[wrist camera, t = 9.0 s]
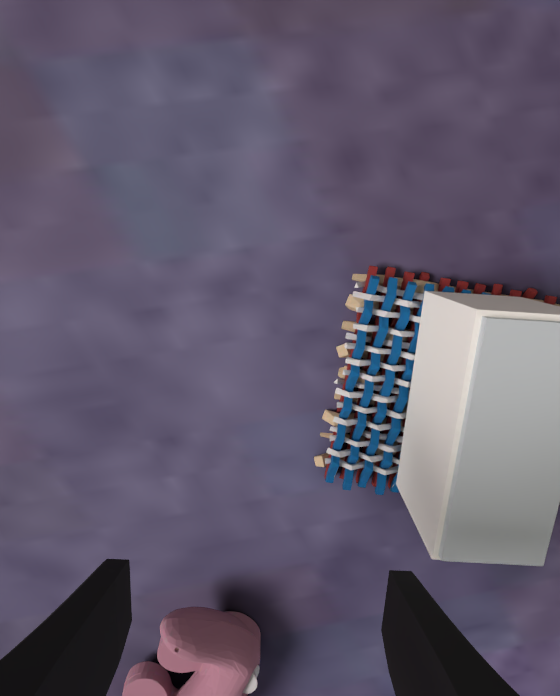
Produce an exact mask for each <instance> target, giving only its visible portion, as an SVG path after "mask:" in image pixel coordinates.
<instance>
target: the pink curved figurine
mask: <svg viewBox="0 0 560 696" xmlns="http://www.w3.org/2000/svg"><path fill="white" fill-rule="evenodd" d="M160 633H161V639H160V643H159V647H158V651H157V659H158V661H159V663H160V664H161V665H162V666H163V667H162V666H161V665H159V664H157V663H154V662H150V661H146V662H141V663H138V664H136V665H135V666H133V667H132V668H131V669H130V671H129V673H128V675H127V678H126V681H125V684H124V690H123V694H122V696H247V695H248V694H249V693H252V692H253V691H255V689H256V688H257V684H258V683H257V676H258V673H259V670H260V669H259V667H260V642H261V633H260V630H259V627H258V626H257V624H256V623H255V622H254V621H253V620H252V619H251V618H250V617H248V616H246V615H245V614H242V613H240V612H232V611H228V612H222V611H219V610H215V609H210V608H205V607H187V608H181V609H177V610H175V611H173V612H171V613H169V614H168V615H167V616H165V618H164V619H163V620H162V622H161V624H160ZM166 669H167V670H169V671H172V672H178V673H186V672H192V671H195V672H194V673H193V675H192V676H191V677H190V679H189V680H188V681H187V682H186V683H185V684H184V685H183V686H182V687H181V688H180V689H179V690H178V689H177V688H175V687H174V686H173V685H172V682H171V678H170V675H169V674H168V672H167V671H166Z"/></svg>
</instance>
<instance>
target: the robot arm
mask: <svg viewBox="0 0 560 696" xmlns="http://www.w3.org/2000/svg"><path fill="white" fill-rule="evenodd" d="M131 622H132V613H131V590H130V566H129V560H121V559H106V560H105V561H104V562H103V563H102V564H101V565H100V566H99V567H98V568H97V569H96V570H95V571H94V572H93V573H92V574H91V575H90V576H89V577H88V578H87V579H86V580H85V581H84V582H83V583H82V584H81V585H80V586H79V587H78V588H77V589H76V590H75V591H74V592H73V593H72V594H71V595H70V596H69V597H68V598H67V599H66V600H65V601H64V602H63V603H62V604H61V605H60V606H59V607H58V608H57V609H56V610H55V611H54V612H53V613H52V614H51V615H50V616H49V617H48V618H47V619H46V620H45V621H44V622H43V623H41V624H40V625H39V626H38V627H37V628H36V629H35V630H34V631H33V632H32V633H30V634H29V635H28V636H27V637H26V638H25V639H24V640H23V641H21V642H20V643H19V644H18V645H17V646H16V647H15V648H14V649H13V650H11V651H10V652H9V653H8V654H7V655H6V656H4V657H3V658H2V659H1V660H0V696H106V694H107V692H108V689H109V687H110V684H111V682H112V679H113V677H114V674H115V672H116V669H117V667H118V664H119V662H120V659H121V655H122V652H123V649H124V646H125V642H126V639H127V635H128V632H129V628H130V625H131ZM381 631H382V636H383V642H384V648H385V653H386V659H387V664H388V669H389V674H390V677H391V681H392V684H393V688H394V691H395V695H396V696H520V695H519V694H517V693H516V692H515V691H514V690H513V689H512V688H511V687H510V686H509V685H508V684H507V683H506V682H505V681H504V680H503V679H502V678H501V677H500V676H499V675H498V673H497V672H496V671H495V670H494V669H493V668H492V667H491V666H490V665H489V664H488V663H487V662H486V661H485V659H484V658H483V657H482V656H481V655H480V654H479V653H478V652H477V651H476V649H475V648H474V647H473V646H472V645H471V644H470V643H469V641H468V640H467V639H466V638H465V637H464V636H463V634H462V633H461V632H460V631H459V630H458V629H457V627H456V626H455V625H454V624H453V623H452V621H451V620H450V619H449V618H448V617H447V615H446V614H445V613H444V612H443V610H442V609H441V608H440V607H439V605H438V604H437V603H436V602H435V600H434V599H433V598H432V597H431V595H430V594H429V593H428V591H427V590H426V589H425V588H424V586H423V585H422V584H421V583H420V581H419V580H418V579H417V577H416V576H415V575H414V574H413V573H412V571H392V570H389V578H388V585H387V592H386V600H385V607H384V615H383V622H382V629H381Z"/></svg>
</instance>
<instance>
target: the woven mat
mask: <svg viewBox="0 0 560 696" xmlns="http://www.w3.org/2000/svg"><path fill="white" fill-rule="evenodd" d="M377 269H378V267H376V266H369V270H368V274H353V276H352V280H355V281H359V282H356V285H355V287H354V288H358V287H364V288H363V291H362V293H361V292H356V291H354V292H353V295H351V294H349V297H348V299H347V302H346V304H345V305H346V306H347V307H348V308H349V309H350V310H353V311H356V312H357V320H356V322H352V321H343V324H342V329H344V330H348V331H352V332H355V333H354V334H351V333H346V339H351V340H353V342H352V343H345V344H342V345H340V346H337V347H336V348H337V351H338V355H339V358H340V357H347V358H346V362H345V363H348V365H347V366H344V367H342V368H339V372H338V376H339V377H341V378H344V379H337V380H336V381H335V382H334V383H336V384H343V388H342V389H339V388H336V391H335V396H334V399H339V400H340V401H339V402H337V411H336V412H333V411H329V410H325V412H324V414H323V417H322V419H324V420H325V421H327V422H328V423H330V424H331V425H333V426H334V427H332V426H331V427H330V431H333V433H320V436H322V437H326V438H330V441H332V442H331V447H330V448H328V449H327V452H326V453H325V454H321V455H318V456H315V457H314V460H315V465H316V466H320V467H326V471H325V476H324V477H325V481H326V482H329V483H333V480H334V478H335V475H336V473H337V470H338V468H339V466H341V467H343V468H342V471H341V474H340V477H339V478H342V479H344V482H343V490H351V486H352V480H353V473H354V470H355V469H358V471H357V475H356V482H357V483H358V486H359V487H363V488H366V483H367V482H368V480H369V478H370V476H371V474H372V472H373V471H374V473H373V478H372V485H373V486H375V487H376V488H375V493H376V494H378V495H383V494H384V490H385V485H386V477H387V475H389V474H390V477H389V481H388V487H389V489H390V491H392V492H397V493H398V492H399V490H398V487H397V485H396V481H397V474H398V468H399V461H400V454H401V447H402V441H403V434H404V427H405V420H406V413H407V407H408V400H409V393H410V391H409V388H410V386H411V380H412V373H413V366H414V359H415V353H416V346H417V339H418V332H419V325H420V319H421V312H422V305H423V298H424V292H425V291H436V292H452V293H467V294H483V295H498V296H508V295H501V291H502V287H503V285H500V284H494V285H493V289H492V293H489V292H484V291H485V288H486V285H484V284H478V283H476V285H475V288H474V290H471V289H467V287H468V284H469V282H464V281H458V283H457V287H454V286H449V284H450V281H451V279H447V278H441V279H440V283H439V284H438V283H434V282H428V280H429V278H430V276H429V273H425V272H421V274H420V276H419V280H417V279H413V278H414V275H415V273H411V272H404V277H403V278H398V277H394V274H395V270H396V268H392V267H387V268H386V271H385V275H376V274H377ZM376 291H378V292H381V296H379V295H375V293H376ZM537 293H538V292H537V290H536V289H533V288H528V289H527V290H526V291H525V293H524V294H523V295H522V297H523V298H527V299H531V300H535V301H539V302H543V303H547V304H551V305H556V306H560V305H559V304H555V303H556V299H557V297H553V296H547V295H546V296H545V299H544V301H543V300H536V299H533V298H534V297H535V296H536V294H537ZM521 294H522V291H517V290H512V289H511V291H510V294H509V296H514V297H521ZM396 296H399V297H398V298H396ZM412 298H413V299H414V301H412ZM372 314H373V315H376V319H375V324H369V321H370V319H371V316H372ZM389 318H392V321H391V324H390V327H389V326H388V324H389ZM409 321H411V324H410V329H406V328H405V327H406V325H407V324H408V322H409ZM366 335H367V336H366ZM369 336H372V337H369ZM365 342H370V346H367V345H365ZM382 345H385V346H386V349H382V348H381V347H382ZM401 348H405V349H404V352H403V351H401ZM361 358H365V359H366V360H360V359H361ZM380 361H383V363H382V362H380ZM396 364H401V365H396ZM360 366H363V369H362V370H360ZM380 367H381V368H382V370H381V372H380V371H378V370H379V369H380ZM395 371H399V373H398V375H396V374H395ZM393 386H395V387H393ZM354 387H357V388H359V392H353V389H354ZM373 390H375V391H377V394H374V393H373ZM390 393H393V396H390ZM352 402H357V405H355V404H353V403H352ZM368 405H374V407H370V408H368ZM387 407H388V408H390V409H389V410H388V409H387ZM352 409H353V410H355V413H353V412H351V411H352ZM367 413H372V415H371V416H369V415H367ZM386 415H388V417H387V418H385V417H386ZM401 419H403V421H402V420H401ZM366 426H368V431H366V430H364V429H365V427H366ZM382 430H383V431H382ZM380 431H382V433H380ZM400 431H401V434H400V436H398V435H399V433H400ZM349 432H350V435H349V434H345V433H349ZM344 442H345V443H348V445H347V450H342V451H340V450H341V448H342V445H343V443H344ZM359 447H363V451H362V452H359ZM374 454H376V455H375V456H374ZM394 454H395V457H393V455H394ZM359 457H360V458H361V459H359ZM392 462H393V463H392Z"/></svg>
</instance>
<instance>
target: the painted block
mask: <svg viewBox="0 0 560 696" xmlns="http://www.w3.org/2000/svg"><path fill="white" fill-rule="evenodd" d="M396 485H397V487H398V490H399V492H400V494H401V496H402V498H403V500H404V502H405V504H406V506H407V508H408V510H409V512H410V515H411V517H412V519H413V521H414V523H415V525H416V527H417V529H418V531H419V533H420V535H421V538H422V540H423V542H424V544H425V546H426V548H427V550H428V552H429V554H430V556H431V558H432V559H437V560H441V561H453V562H473V563H492V564H511V565H531V566H543V565H544V561H545V557H546V553H547V549H548V546H549V542H550V538H551V534H552V530H553V526H554V522H555V518H556V514H557V510H558V507H559V503H560V306H556V305H551V304H547V303H543V302H539V301H535V300H531V299H527V298H523V297H514V296H498V295H483V294H467V293H452V292H436V291H425V292H424V298H423V305H422V312H421V319H420V325H419V332H418V339H417V346H416V353H415V359H414V366H413V373H412V380H411V386H410V393H409V400H408V407H407V413H406V420H405V427H404V434H403V441H402V447H401V454H400V461H399V468H398V474H397V481H396Z"/></svg>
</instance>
